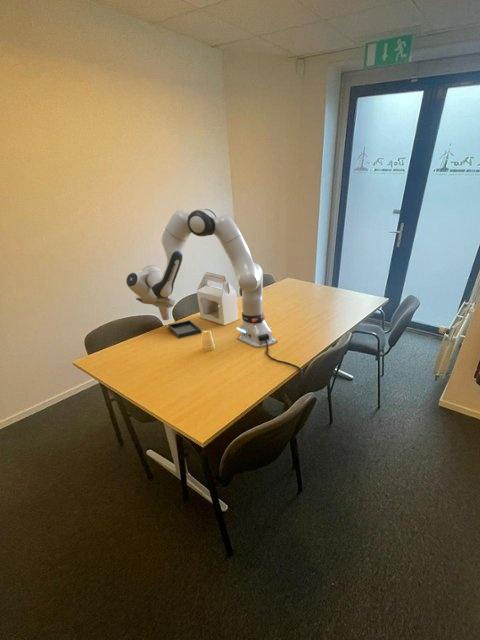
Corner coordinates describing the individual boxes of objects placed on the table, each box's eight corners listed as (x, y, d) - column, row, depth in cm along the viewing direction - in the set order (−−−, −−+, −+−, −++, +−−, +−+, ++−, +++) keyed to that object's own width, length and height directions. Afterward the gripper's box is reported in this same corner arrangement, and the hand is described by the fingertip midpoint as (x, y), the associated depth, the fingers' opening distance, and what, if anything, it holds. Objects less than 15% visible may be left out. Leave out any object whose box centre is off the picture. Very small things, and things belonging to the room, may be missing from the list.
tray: (201, 332, 175) (200, 329, 174) (178, 338, 168) (177, 334, 167) (190, 323, 186) (189, 320, 184) (168, 328, 179) (167, 324, 178)
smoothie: (167, 316, 184) (162, 293, 177) (173, 318, 181) (169, 296, 174) (158, 319, 180) (152, 296, 172) (164, 322, 177) (159, 298, 169)
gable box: (200, 317, 195) (193, 273, 179) (214, 311, 204) (210, 269, 188) (224, 325, 184) (220, 279, 169) (239, 319, 194) (236, 275, 178)
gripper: (168, 291, 162) (180, 303, 176) (135, 288, 166) (150, 299, 179) (165, 301, 161) (178, 312, 175) (132, 298, 165) (147, 309, 178)
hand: (163, 306), depth 177 cm, fingers closed on smoothie, 6 cm apart
